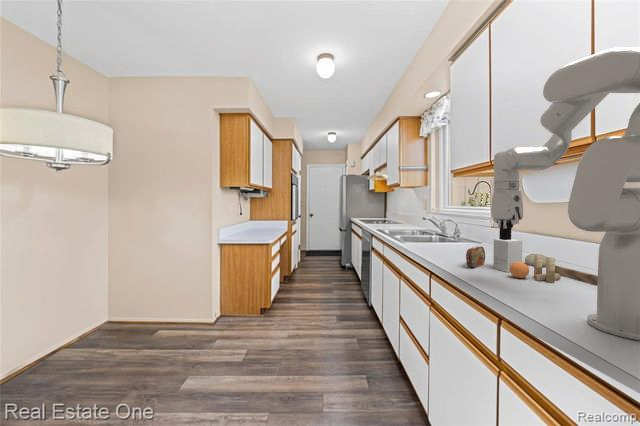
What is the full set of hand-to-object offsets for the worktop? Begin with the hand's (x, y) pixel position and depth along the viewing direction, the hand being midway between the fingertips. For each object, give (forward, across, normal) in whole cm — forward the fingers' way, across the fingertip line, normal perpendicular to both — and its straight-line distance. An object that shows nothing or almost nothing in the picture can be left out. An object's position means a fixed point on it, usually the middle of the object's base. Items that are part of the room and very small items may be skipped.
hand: (505, 239), depth 103 cm
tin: (+15, +25, -6) cm, 30 cm away
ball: (+12, +4, -9) cm, 16 cm away
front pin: (+14, 0, -12) cm, 19 cm away
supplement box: (+15, +16, -14) cm, 26 cm away
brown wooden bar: (+15, 0, -28) cm, 31 cm away
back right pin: (+15, -2, -15) cm, 22 cm away
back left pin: (+15, +2, -15) cm, 22 cm away
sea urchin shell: (+15, +22, -33) cm, 43 cm away
